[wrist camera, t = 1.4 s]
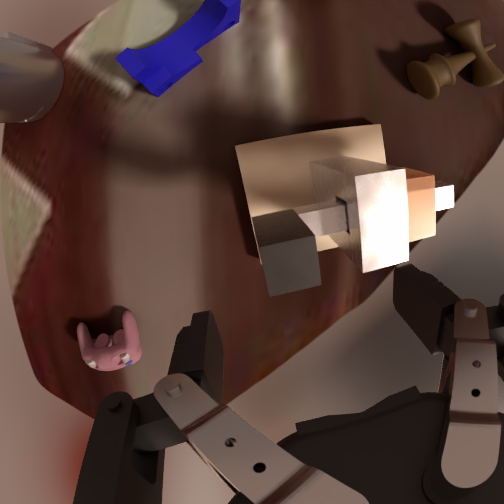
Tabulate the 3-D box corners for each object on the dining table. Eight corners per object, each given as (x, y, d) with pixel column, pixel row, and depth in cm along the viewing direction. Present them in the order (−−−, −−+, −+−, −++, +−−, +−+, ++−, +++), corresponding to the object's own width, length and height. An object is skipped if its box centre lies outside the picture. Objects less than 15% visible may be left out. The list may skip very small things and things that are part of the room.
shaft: (249, 211, 23) (259, 247, 15) (440, 175, 22) (500, 194, 15) (257, 246, 24) (269, 296, 16) (441, 206, 23) (498, 233, 16)
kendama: (385, 51, 26) (468, 18, 22) (422, 117, 29) (495, 73, 26) (411, 41, 20) (493, 12, 17) (451, 119, 24) (521, 72, 20)
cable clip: (158, 97, 27) (142, 88, 21) (134, 71, 25) (115, 58, 20) (247, 31, 24) (251, 9, 19) (221, 6, 23) (220, -19, 17)
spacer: (375, 170, 23) (404, 179, 19) (402, 166, 23) (434, 175, 19) (379, 224, 25) (407, 242, 21) (405, 218, 25) (435, 235, 21)
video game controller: (94, 334, 39) (91, 377, 34) (75, 320, 35) (70, 365, 31) (147, 322, 38) (147, 368, 33) (129, 306, 35) (127, 356, 30)
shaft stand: (234, 145, 29) (236, 149, 17) (374, 124, 29) (450, 123, 16) (259, 258, 34) (275, 329, 21) (385, 230, 34) (451, 278, 21)
